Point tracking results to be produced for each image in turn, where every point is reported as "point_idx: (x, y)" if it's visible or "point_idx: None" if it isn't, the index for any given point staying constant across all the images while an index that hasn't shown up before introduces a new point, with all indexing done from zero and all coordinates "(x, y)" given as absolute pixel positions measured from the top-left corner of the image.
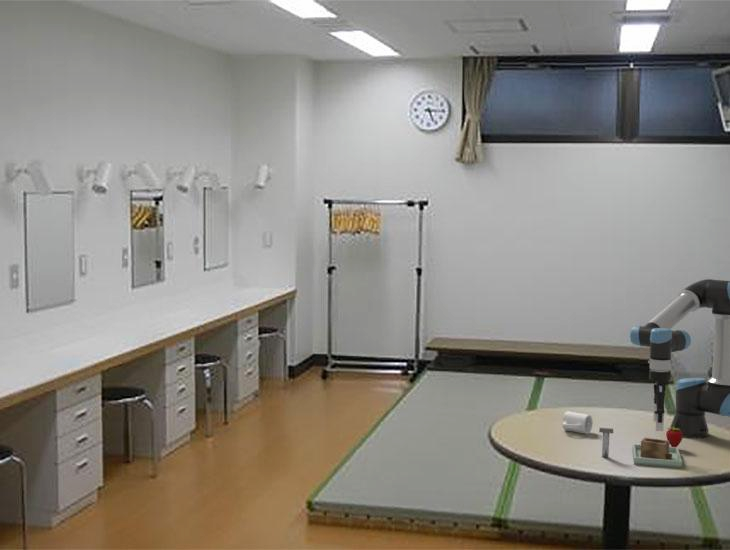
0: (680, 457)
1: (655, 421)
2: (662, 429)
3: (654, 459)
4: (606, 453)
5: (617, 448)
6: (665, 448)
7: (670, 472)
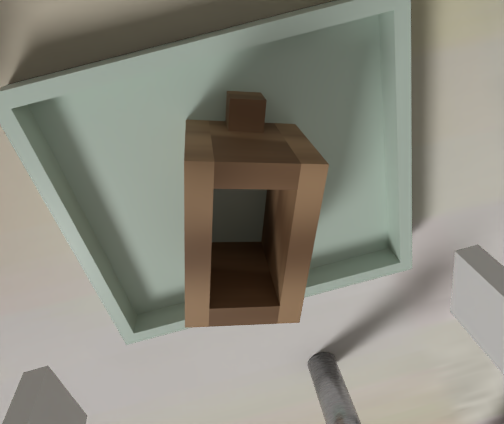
0: (295, 18)
1: (76, 405)
2: (489, 264)
3: (411, 174)
4: (340, 373)
5: (141, 370)
6: (318, 152)
7: (500, 45)
